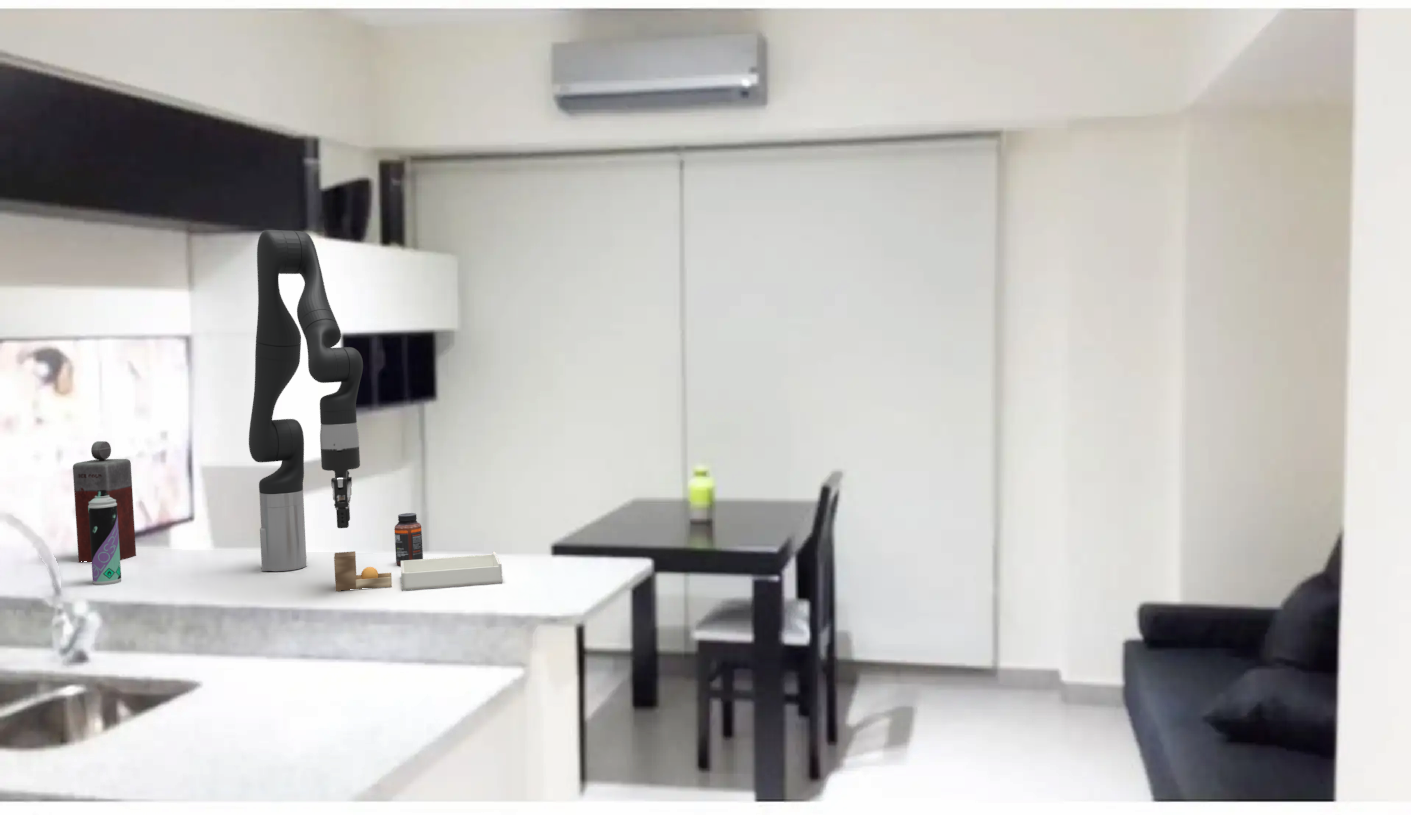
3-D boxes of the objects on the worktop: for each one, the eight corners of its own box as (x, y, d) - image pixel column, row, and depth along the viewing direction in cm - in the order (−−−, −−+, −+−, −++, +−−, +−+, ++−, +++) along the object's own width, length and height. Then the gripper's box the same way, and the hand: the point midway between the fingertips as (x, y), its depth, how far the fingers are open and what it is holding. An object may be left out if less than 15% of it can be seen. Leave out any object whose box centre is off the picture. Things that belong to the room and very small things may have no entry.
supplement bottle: (426, 561, 272) (424, 511, 271) (418, 566, 266) (416, 516, 265) (401, 561, 272) (399, 512, 272) (392, 566, 266) (389, 516, 266)
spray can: (92, 586, 253) (87, 492, 252) (92, 581, 258) (87, 489, 257) (121, 582, 256) (116, 490, 254) (121, 578, 261) (115, 487, 259)
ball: (364, 587, 245) (358, 573, 244) (365, 583, 248) (358, 569, 247) (380, 581, 246) (374, 566, 245) (380, 577, 249) (374, 562, 248)
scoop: (335, 591, 243) (334, 557, 242) (336, 586, 247) (335, 552, 247) (391, 586, 245) (390, 553, 245) (391, 582, 250) (390, 548, 250)
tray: (402, 590, 242) (401, 571, 241) (401, 576, 255) (400, 558, 255) (502, 583, 247) (501, 563, 246) (496, 569, 260) (495, 551, 260)
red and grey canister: (94, 554, 289) (87, 439, 287) (136, 555, 287) (130, 439, 285) (69, 562, 281) (61, 443, 279) (112, 562, 279) (105, 443, 277)
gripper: (322, 443, 249) (326, 521, 250) (318, 449, 236) (322, 531, 237) (359, 441, 251) (363, 518, 252) (358, 447, 238) (362, 528, 239)
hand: (343, 524), depth 244 cm, fingers open, 8 cm apart
